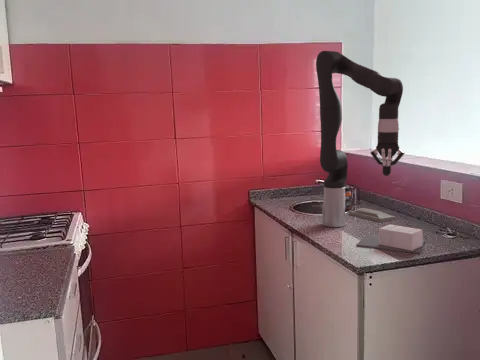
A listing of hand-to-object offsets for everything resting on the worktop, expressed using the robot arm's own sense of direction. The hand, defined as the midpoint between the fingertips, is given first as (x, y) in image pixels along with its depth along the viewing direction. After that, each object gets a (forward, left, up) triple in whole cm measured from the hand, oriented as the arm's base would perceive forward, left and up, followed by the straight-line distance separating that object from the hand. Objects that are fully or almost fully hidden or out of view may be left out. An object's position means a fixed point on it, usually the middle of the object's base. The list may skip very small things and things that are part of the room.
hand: (386, 175), depth 175 cm
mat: (+4, -9, -25) cm, 26 cm away
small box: (+1, -10, -21) cm, 23 cm away
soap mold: (-13, +33, -26) cm, 43 cm away
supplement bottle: (-29, +46, -25) cm, 60 cm away
